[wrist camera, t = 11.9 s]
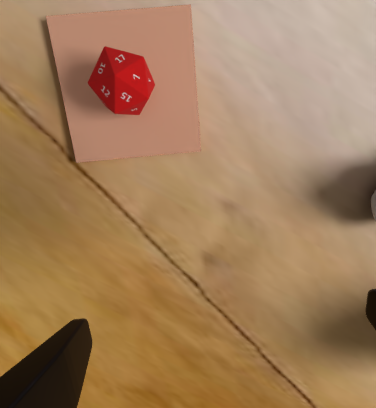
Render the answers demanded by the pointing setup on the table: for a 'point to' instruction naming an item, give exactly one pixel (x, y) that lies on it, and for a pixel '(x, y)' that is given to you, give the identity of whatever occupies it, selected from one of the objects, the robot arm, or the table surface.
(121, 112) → the die
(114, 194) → the table surface
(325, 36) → the table surface
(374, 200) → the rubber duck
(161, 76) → the terracotta tile
